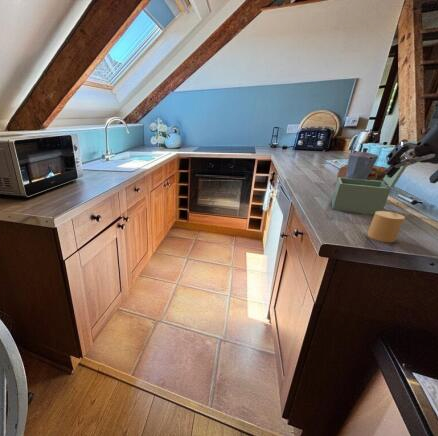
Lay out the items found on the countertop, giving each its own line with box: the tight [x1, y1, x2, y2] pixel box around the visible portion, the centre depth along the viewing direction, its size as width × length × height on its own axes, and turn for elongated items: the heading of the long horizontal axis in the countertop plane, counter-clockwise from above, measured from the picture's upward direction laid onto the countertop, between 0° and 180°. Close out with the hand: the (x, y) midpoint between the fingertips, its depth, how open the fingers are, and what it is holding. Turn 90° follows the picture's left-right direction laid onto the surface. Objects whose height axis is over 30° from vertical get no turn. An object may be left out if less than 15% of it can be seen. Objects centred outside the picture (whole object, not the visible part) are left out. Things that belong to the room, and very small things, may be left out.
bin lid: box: [383, 139, 418, 189], centre depth 81 cm, size 14×12×1 cm
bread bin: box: [331, 177, 392, 216], centre depth 90 cm, size 14×12×10 cm
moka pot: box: [345, 147, 379, 180], centre depth 103 cm, size 10×15×20 cm, turn 170°
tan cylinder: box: [366, 210, 406, 243], centre depth 68 cm, size 6×6×7 cm
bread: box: [336, 164, 388, 185], centre depth 119 cm, size 19×11×10 cm, turn 72°
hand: (409, 177), depth 62 cm, fingers open, 8 cm apart
